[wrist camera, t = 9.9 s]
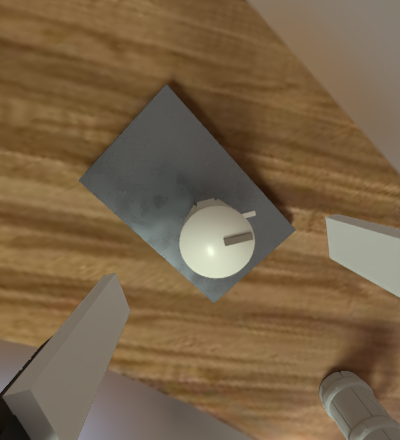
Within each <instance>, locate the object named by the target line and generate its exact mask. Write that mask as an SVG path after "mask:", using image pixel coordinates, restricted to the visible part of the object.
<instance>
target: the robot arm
mask: <svg viewBox="0 0 400 440" xmlns="http://www.w3.org/2000/svg"><path fill="white" fill-rule="evenodd" d="M326 225H327V235H328V244H329V253H330V258H331V259H332V260H334V261H336V262H338V263H340V264H341V265H343V266H345V267H347V268H348V269H350V270H352V271H354V272H355V273H357V274H359V275H361V276H363V277H364V278H366V279H368V280H370V281H371V282H373V283H375V284H377V285H378V286H380V287H382V288H384V289H386V290H387V291H389V292H391V293H393V294H394V295H396V296H398V297H400V229H396V228H392V227H388V226H384V225H380V224H376V223H372V222H368V221H364V220H360V219H356V218H352V217H348V216H343V215H339V214H336V215H332V216H329V217H326ZM129 314H130V309H129V306H128V304H127V301H126V298H125V296H124V293H123V291H122V288H121V286H120V283H119V280H118V278H117V275H116V273H113V274H109V275H105V276H103V277H102V278H101V279H100V280H99V282H98V283H97V284H96V285H95V286H94V288H93V289H92V290H91V291H90V292H89V294H88V295H87V296H86V297H85V298H84V300H83V301H82V302H81V303H80V304H79V306H78V307H77V308H76V309H75V310H74V311H73V313H72V314H71V315H70V316H69V317H68V319H67V320H66V321H65V322H64V323H63V325H62V326H61V327H60V328H59V329H58V331H57V332H56V333H55V334H54V335H53V336H52V337H51V338H50V339H48V340H47V341H46V342H45V343H44V344H43V345H41V347H40V348H39V349H38V350H37V352H35V354H34V355H33V356H32V357H31V359H30V360H29V361H28V362H27V363H26V364H25V365H24V366H23V369H22V370H20V371H19V372H18V374H17V375H16V376H15V377H14V378H13V379H12V380H11V382H10V383H9V384H8V385H7V386H6V387H5V388H4V390H3V391H2V392H1V393H0V440H77V439H78V437H79V434H80V432H81V429H82V427H83V425H84V422H85V420H86V418H87V415H88V413H89V410H90V408H91V405H92V403H93V401H94V398H95V396H96V393H97V391H98V388H99V386H100V383H101V381H102V379H103V377H104V374H105V372H106V369H107V367H108V364H109V362H110V360H111V357H112V355H113V352H114V350H115V348H116V345H117V343H118V340H119V338H120V335H121V333H122V331H123V328H124V326H125V323H126V321H127V319H128V316H129Z"/></svg>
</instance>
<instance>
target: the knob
mask: <svg viewBox="0 0 400 440" xmlns="http://www.w3.org/2000/svg"><path fill="white" fill-rule="evenodd" d="M179 245H180V252H181V255H182V257H183V259H184V261H185V263H186V264H187V265H188V266H189V267H190V268H191V269H192V270H193V271H194V272H196V273H198V274H200V275H202V276H205V277H209V278H224V277H228V276H231V275H233V274H235V273H237V272H238V271H240V270H241V269H242V268H243V267H244V266H245V265H246V264H247V263H248V262H249V260H250V258H251V256H252V254H253V251H254V246H255V237H254V232H253V229H252V227H251V225H250V223H249V222H248V220H247V219H246V218H245V217H244V216H243V215H242V214H241V213H239V212H238V211H236V210H235V209H233V208H232V207H231V206H229V205H227V204H226V203H224V202H222V201H221V200H219V199H217V200H215V199H214V198H211V199H208V200H204V201H200V202H197V206H195V205H193V207H192V208H191V210H190V212H189V213H188V215H187V217H186V219H185V222H184V225H183V228H182V231H181V235H180V241H179Z"/></svg>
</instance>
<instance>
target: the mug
mask: <svg viewBox="0 0 400 440" xmlns="http://www.w3.org/2000/svg"><path fill="white" fill-rule="evenodd" d="M321 384H322V385H320V392H319V396H320V398H321V400H322V404H323V407H324V409H325V411H326V412H327V414H328V415H329V416H330V417H331V418H332V419H334V421H335V422H336V424H337V425H338V427H339V428H340V430H341V432H342V433H343V435H344V436H345V438H346V439H347V440H400V424H399V423H398V422H397V421H396V420H394V419H393V418H392V417H391V416H390V415H389V414H388V413H387V411H386V410H385V409H384V408H383V406H382V405H381V404H380V403H379V401H378V400H377V399H376V398H375V396H374V393H373V391H372V389H371V388H370V386H369V385H368V384H367V383H366V382H365V381H364V380H362V379H360V378H359V377H358V376H357V375H356V374H355V373H353V372H350V371H341V372H340V373H339V372H335V373H332V374H330V375H329V376H328V377H326V378H325V379H324V380H323V382H322V383H321Z"/></svg>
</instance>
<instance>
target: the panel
mask: <svg viewBox="0 0 400 440" xmlns="http://www.w3.org/2000/svg"><path fill="white" fill-rule="evenodd" d="M78 181H79V182H81V183H82V184H83V185H84V186H85V187H86V188H87V189H88V190H89V191H91V192H92V193H93V194H94V195H95V196H96V197H97V198H98V199H99V200H101V201H102V202H103V203H104V204H105V205H106V206H107V207H108V208H109V209H110V210H112V211H113V212H114V213H115V214H116V215H117V216H118V217H119V218H120V219H122V220H123V221H124V222H125V223H126V224H127V225H128V226H129V227H130V228H132V229H133V230H134V231H135V232H136V233H137V234H138V235H139V236H140V237H141V238H143V239H144V240H145V241H146V242H147V243H148V244H149V245H150V246H151V247H153V248H154V249H155V250H156V251H157V252H158V253H159V254H160V255H161V256H163V257H164V258H165V259H166V260H167V261H168V262H169V263H170V264H171V265H172V266H174V267H175V268H176V269H177V270H178V271H179V272H180V273H181V274H182V275H184V276H185V277H186V278H187V279H188V280H189V281H190V282H191V283H192V284H194V285H195V286H196V287H197V288H198V289H199V290H200V291H201V292H202V293H203V294H205V295H206V296H207V297H208V298H209V299H210V300H211V301H212V302H213V303H215V302H216V301H217V300H218V299H219V298H220V297H221V296H222V295H224V294H225V293H226V292H227V291H228V290H229V289H230V288H231V287H233V286H234V285H235V284H236V283H237V282H238V281H239V280H240V279H241V278H243V277H244V276H245V275H246V274H247V273H248V272H249V271H250V270H252V269H253V268H254V267H255V266H256V265H257V264H258V263H259V262H260V261H262V260H263V259H264V258H265V257H266V256H267V255H268V254H269V253H271V252H272V251H273V250H274V249H275V248H276V247H277V246H278V245H280V244H281V243H282V242H283V241H284V240H285V239H286V238H287V237H288V236H290V235H291V234H292V233H293V232H294V231H295V228H294V227H293V226H292V225H291V224H290V223H289V222H288V220H287V219H286V218H285V217H284V216H283V215H282V214H281V213H280V211H279V210H278V209H277V208H276V207H275V206H274V205H273V204H272V202H271V201H270V200H269V199H268V198H267V197H266V196H265V195H264V193H263V192H262V191H261V190H260V189H259V188H258V187H257V186H256V184H255V183H254V182H253V181H252V180H251V179H250V178H249V177H248V175H247V174H246V173H245V172H244V171H243V170H242V169H241V168H240V166H239V165H238V164H237V163H236V162H235V161H234V160H233V159H232V157H231V156H230V155H229V154H228V153H227V152H226V151H225V149H224V148H223V147H222V146H221V145H220V144H219V143H218V142H217V140H216V139H215V138H214V137H213V136H212V135H211V134H210V133H209V131H208V130H207V129H206V128H205V127H204V126H203V125H202V124H201V122H200V121H199V120H198V119H197V118H196V117H195V116H194V115H193V113H192V112H191V111H190V110H189V109H188V108H187V107H186V106H185V104H184V103H183V102H182V101H181V100H180V99H179V98H178V97H177V95H176V94H175V93H174V92H173V91H172V90H171V89H170V88H169V86H168V85H167V84H166V85H165V86H164V87H163V88H162V90H161V91H160V92H159V93H158V94H157V95H156V96H155V97H154V98H153V99H152V100H151V102H150V103H149V104H148V105H147V106H146V107H145V108H144V109H143V110H142V111H141V113H140V114H139V115H138V116H137V117H136V118H135V119H134V120H133V121H132V122H131V123H130V125H129V126H128V127H127V128H126V129H125V130H124V131H123V132H122V133H121V134H120V135H119V137H118V138H117V139H116V140H115V141H114V142H113V143H112V144H111V145H110V146H109V148H108V149H107V150H106V151H105V152H104V153H103V154H102V155H101V156H100V157H99V158H98V160H97V161H96V162H95V163H94V164H93V165H92V166H91V167H90V168H89V169H88V171H87V172H86V173H85V174H84V175H83V176H82V177H81V178H80V179H79V180H78ZM211 198H214V199H215V200H217V199H219V200H221V201H222V202H224V203H226V204H227V205H229V206H231V207H232V208H233V209H235V210H236V211H238V212H239V213H241V214H242V215H243V216H244V217H245V218H246V219H247V220H248V222H249V223H250V225H251V227H252V229H253V232H254V237H255V246H254V251H253V254H252V256H251V258H250V260H249V262H248V263H247V264H246V265H245V266H244V267H243V268H242V269H241V270H240V271H238V272H237V273H235V274H233V275H231V276H228V277H224V278H209V277H205V276H202V275H200V274H198V273H196V272H194V271H193V270H192V269H191V268H190V267H189V266H188V265H187V264H186V263H185V261H184V259H183V257H182V255H181V252H180V245H179V241H180V235H181V231H182V228H183V225H184V222H185V219H186V217H187V215H188V213H189V212H190V210H191V208H192V207H193V205H195V206H197V202H200V201H204V200H208V199H211Z"/></svg>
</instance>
